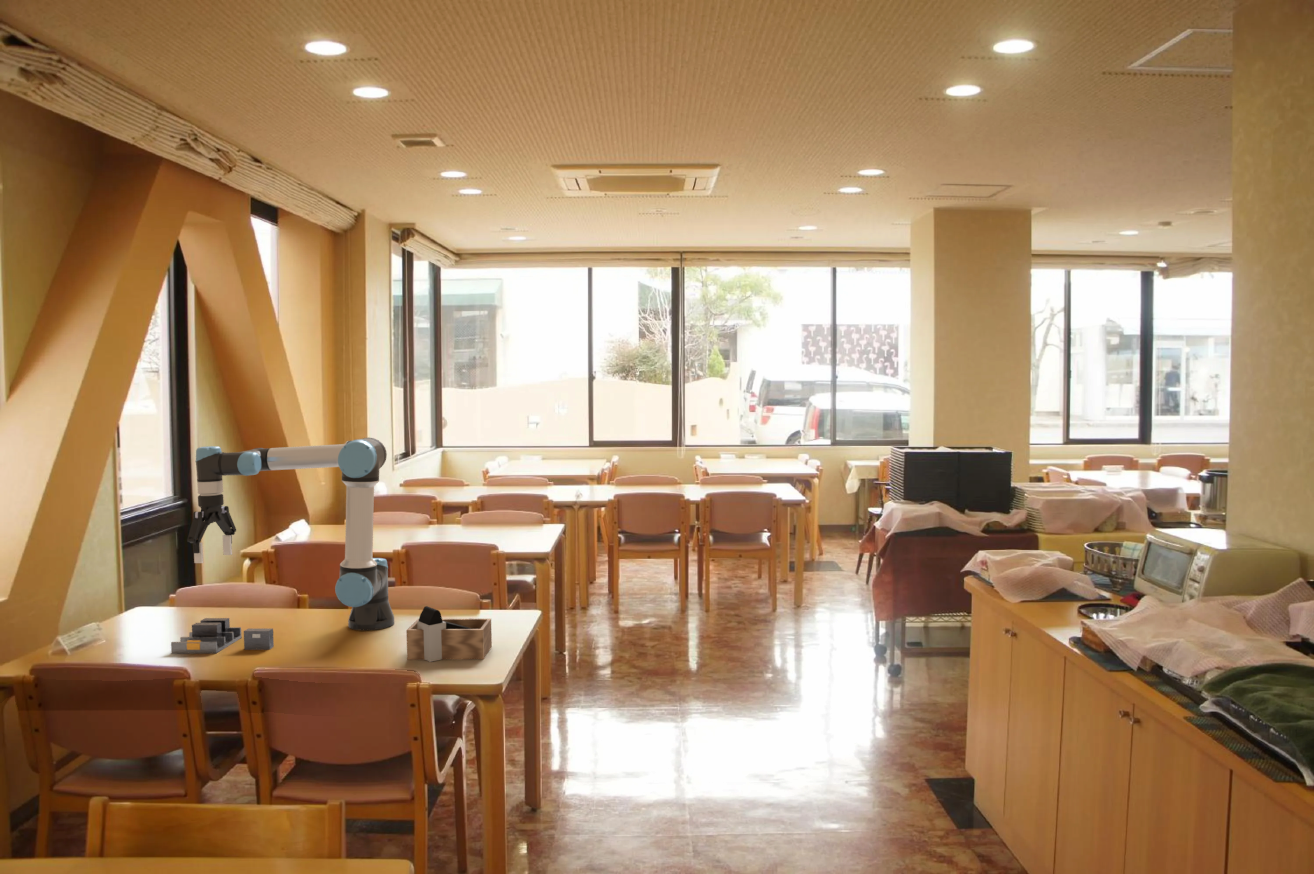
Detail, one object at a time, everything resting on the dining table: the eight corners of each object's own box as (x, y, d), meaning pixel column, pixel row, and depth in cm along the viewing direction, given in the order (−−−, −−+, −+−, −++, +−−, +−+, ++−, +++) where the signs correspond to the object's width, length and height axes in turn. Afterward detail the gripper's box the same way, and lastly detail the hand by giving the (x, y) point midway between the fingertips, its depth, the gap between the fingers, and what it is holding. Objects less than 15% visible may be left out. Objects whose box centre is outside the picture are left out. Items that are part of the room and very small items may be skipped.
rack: (241, 637, 313) (240, 616, 312) (215, 653, 295) (215, 631, 295) (199, 637, 313) (198, 616, 312) (171, 653, 296) (170, 631, 295)
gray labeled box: (273, 647, 302) (273, 628, 302) (269, 649, 299) (268, 631, 298) (248, 647, 302) (247, 628, 302) (244, 650, 299) (243, 631, 299)
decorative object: (483, 649, 296) (481, 601, 295) (430, 661, 284) (428, 612, 283) (469, 644, 302) (468, 597, 301) (417, 655, 290) (415, 607, 289)
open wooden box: (491, 646, 299) (491, 618, 299) (483, 659, 286) (482, 629, 286) (418, 646, 300) (418, 618, 299) (407, 659, 287) (406, 630, 286)
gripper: (226, 489, 322) (229, 551, 324) (172, 499, 298) (176, 566, 300) (245, 489, 321) (248, 551, 322) (193, 499, 297) (196, 566, 298)
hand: (213, 558), depth 311 cm, fingers open, 13 cm apart
